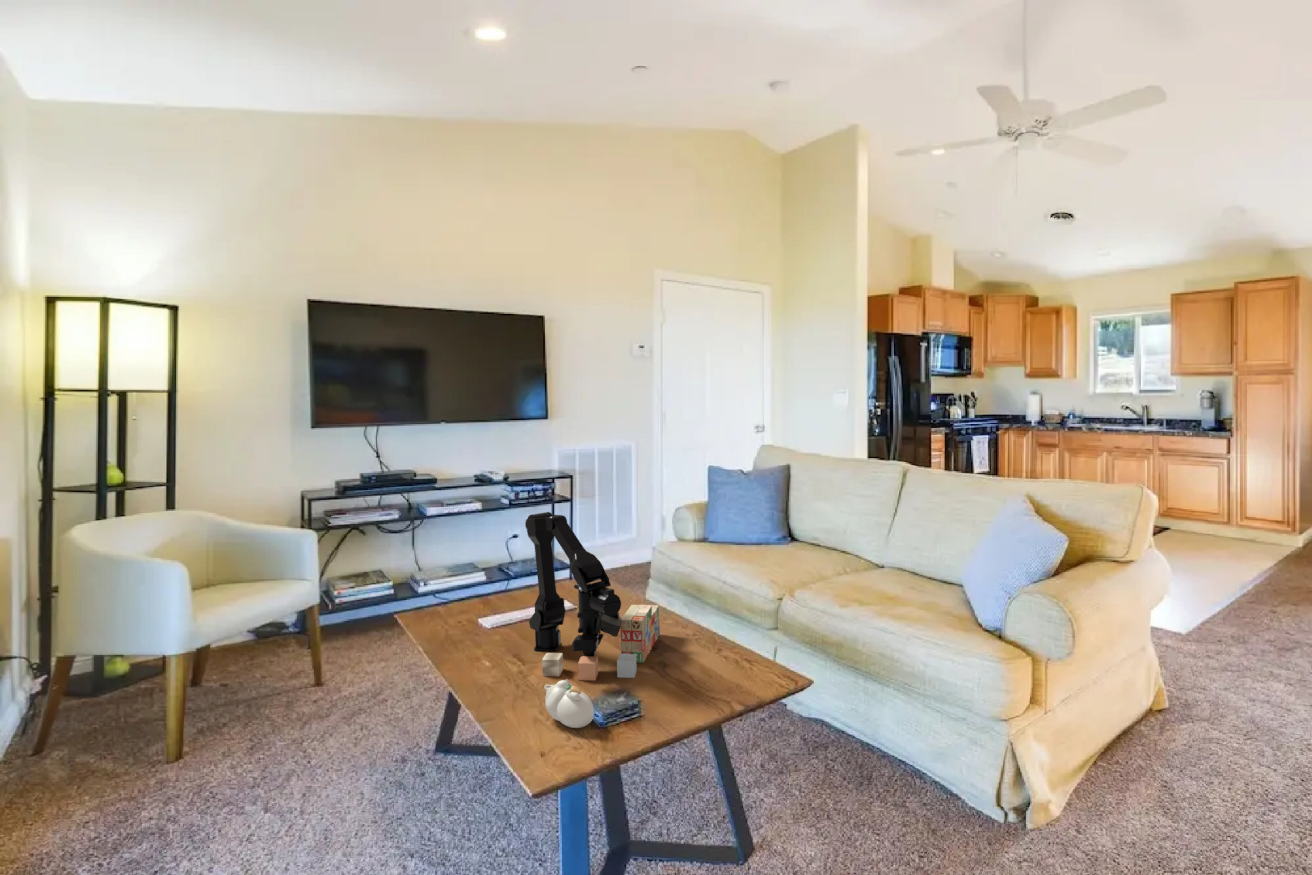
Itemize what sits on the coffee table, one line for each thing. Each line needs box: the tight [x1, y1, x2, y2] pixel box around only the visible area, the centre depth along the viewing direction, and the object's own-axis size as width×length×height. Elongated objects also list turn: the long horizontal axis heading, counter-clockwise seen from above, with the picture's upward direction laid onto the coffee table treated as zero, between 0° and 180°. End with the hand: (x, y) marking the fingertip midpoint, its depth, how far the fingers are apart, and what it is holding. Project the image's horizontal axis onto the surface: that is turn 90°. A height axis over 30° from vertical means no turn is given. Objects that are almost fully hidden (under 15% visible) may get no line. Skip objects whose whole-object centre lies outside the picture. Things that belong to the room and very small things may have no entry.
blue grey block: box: [616, 653, 638, 679], centre depth 175 cm, size 4×4×4 cm
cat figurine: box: [543, 678, 595, 729], centre depth 151 cm, size 10×8×15 cm
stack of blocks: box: [620, 604, 661, 664], centre depth 193 cm, size 21×6×12 cm, turn 167°
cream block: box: [541, 652, 564, 677], centre depth 177 cm, size 4×4×4 cm
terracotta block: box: [577, 655, 599, 681], centre depth 174 cm, size 4×4×4 cm
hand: (591, 663), depth 178 cm, fingers closed
